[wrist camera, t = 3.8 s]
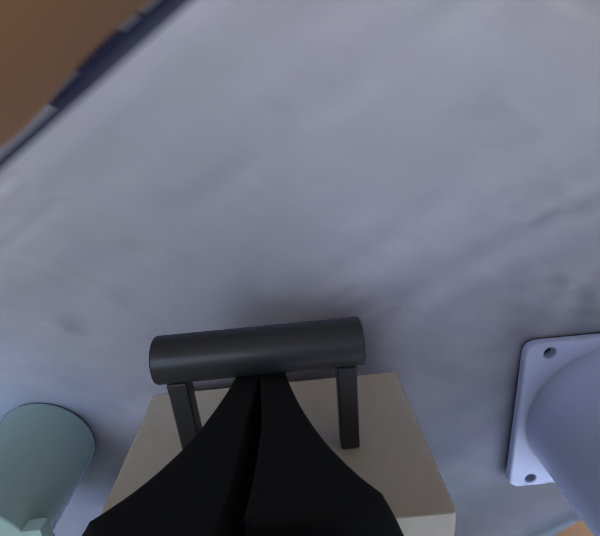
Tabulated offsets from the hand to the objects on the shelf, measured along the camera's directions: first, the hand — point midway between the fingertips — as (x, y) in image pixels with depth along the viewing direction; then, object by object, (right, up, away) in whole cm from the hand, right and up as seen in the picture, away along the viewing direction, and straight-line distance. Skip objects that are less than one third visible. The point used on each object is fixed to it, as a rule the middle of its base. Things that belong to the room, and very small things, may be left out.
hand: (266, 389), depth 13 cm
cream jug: (-10, -4, +5) cm, 12 cm away
